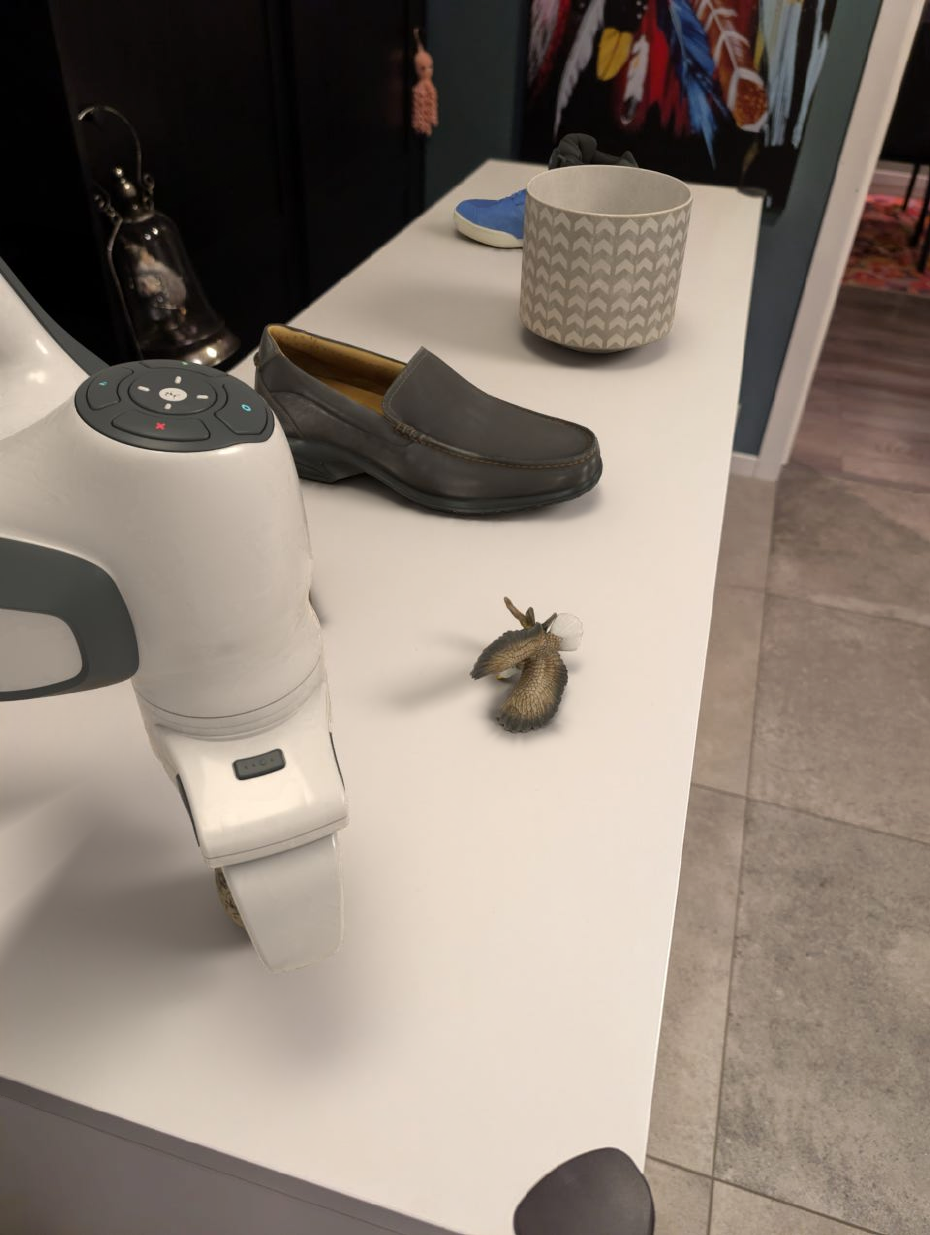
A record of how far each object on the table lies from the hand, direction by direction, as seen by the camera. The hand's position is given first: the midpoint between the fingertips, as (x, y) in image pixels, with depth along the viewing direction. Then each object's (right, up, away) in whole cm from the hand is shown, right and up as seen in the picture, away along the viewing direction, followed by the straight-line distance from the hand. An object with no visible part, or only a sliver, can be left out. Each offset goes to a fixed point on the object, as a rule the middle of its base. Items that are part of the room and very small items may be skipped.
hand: (272, 865), depth 55 cm
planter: (+27, +49, +66) cm, 87 cm away
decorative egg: (0, -4, +3) cm, 5 cm away
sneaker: (+23, +71, +92) cm, 119 cm away
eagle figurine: (+16, +9, +18) cm, 26 cm away
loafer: (+7, +29, +42) cm, 51 cm away
